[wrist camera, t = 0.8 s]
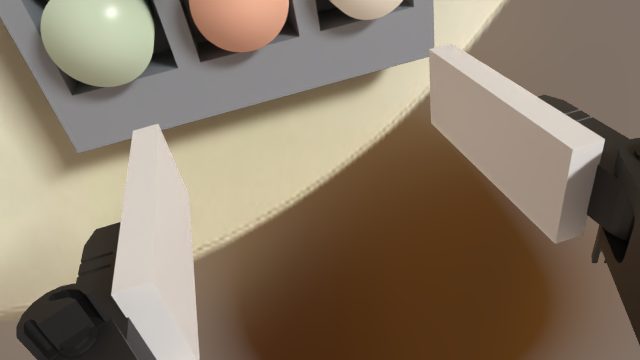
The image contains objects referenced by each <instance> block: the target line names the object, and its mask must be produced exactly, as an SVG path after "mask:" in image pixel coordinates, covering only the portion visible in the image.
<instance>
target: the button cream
mask: <svg viewBox="0 0 640 360" xmlns="http://www.w3.org/2000/svg"><path fill="white" fill-rule="evenodd" d="M329 1H330V2H332V3H333V4H334V5H335V6H336V7H338V8H339V9H340V10H341V11H342V12H344V13H345V14H347V15H348V16H350V17H353V18H356V19H360V20H372V19H377V18H380V17H383V16H385V15H387V14H388V13H390V12H391V11H393V10H394V9H395V8H396V7H397V6H398V5H399V4H400V3H401V2H402V1H403V0H329Z"/></svg>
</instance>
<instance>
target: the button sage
mask: <svg viewBox="0 0 640 360" xmlns="http://www.w3.org/2000/svg"><path fill="white" fill-rule="evenodd" d="M154 36H155V16H154V12H153V9H152V6H151V4H150V2H149V0H50V1H49V2H48V4H47V5H46V7H45V9H44V11H43V14H42V17H41V37H42V41H43V44H44V46H45V49H46V51H47V53H48V54H49V56H50V57H51V59H52V60H53V61H54V63H55V64H56V65H57V66H58V67H59V68H60V69H61V70H62V71H64V72H65V73H66V74H68V75H69V76H71V77H72V78H74V79H76V80H78V81H80V82H83V83H85V84H89V85H92V86H98V87H115V86H120V85H123V84H126V83H129V82H131V81H133V80H134V79H136V78H137V77H138V76H139V75H141V74H142V73H143V71H144V70H145V69H146V68H147V66H148V64H149V63H150V60H151V58H152V54H153V47H154Z"/></svg>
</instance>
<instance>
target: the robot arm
mask: <svg viewBox="0 0 640 360" xmlns="http://www.w3.org/2000/svg"><path fill="white" fill-rule="evenodd" d="M429 62H430V97H431V123H432V124H433V125H434V126H435V127H436V128H437V129H438V130H439V131H440V132H441V133H442V134H443V135H444V136H445V137H446V138H447V139H448V140H449V141H450V142H451V143H452V144H453V145H454V146H455V147H456V148H457V149H459V151H461V152H462V154H464V155H465V156H466V157H467V158H468V159H469V160H470V161H471V162H472V163H473V164H474V165H475V166H476V167H477V168H478V169H479V170H480V171H481V172H482V173H483V174H484V175H485V176H486V177H487V178H488V179H489V180H490V181H491V182H492V183H493V184H494V185H495V186H496V187H497V188H498V189H499V190H501V191H502V192H503V193H504V194H505V195H506V196H507V197H508V198H509V199H510V200H511V201H512V202H513V203H514V204H515V205H516V206H517V207H518V208H519V209H520V210H521V211H522V212H523V213H524V214H525V215H526V216H528V218H529V219H530V220H531V221H533V222H534V223H535V225H537V226H538V227H539V228H540V229H541V230H542V231H543V232H544V233H545V234H546V235H547V236H548V237H549V238H550V239H551V240H552V241H553V242H554V243H559V242H562V241H565V240H568V239H571V238H574V237H577V236H580V235H583V233H584V228H585V225H586V220H587V216H590V217H591V218H592V219H593V220H594V221H596V222H597V223H598V224H599V229H598V233H597V236H596V241H595V244H594V248H593V252H592V263H597V262H598V258H599V254H600V252H601V251H602V252H603V254H604V257H605V261H604V263H607V265H608V267H609V270H610V272H611V275H612V277H613V280H614V282H615V285H616V287H617V290H618V292H619V295H620V297H621V300H622V302H623V305H624V307H625V310H626V312H627V315H628V317H629V319H630V322H631V325H632V327H633V330H634V332H635V335H636V337H637V339H638V342H639V344H640V138H635V139H631V140H630V139H629V138H627V137H625V136H623V135H621V134H620V133H618V132H617V131H615V130H613V129H612V128H610V127H608V126H606V125H605V124H603V123H601V122H599V121H598V120H596V119H595V118H590V116H589V115H588V114H586V113H584V112H583V111H578V108H576V107H574V106H572V105H571V104H569V103H567V102H566V101H564V100H561V99H557V98H554V97H550V96H547V95H542V96H539V97H536V96H535V95H533V94H531V93H530V92H528V91H527V90H525V89H524V88H522V87H520V86H519V85H517V84H516V83H514V82H512V81H511V80H509V79H507V78H506V77H504V76H503V75H501V74H499V73H498V72H496V71H494V70H493V69H491V68H490V67H488V66H487V65H485V64H483V63H482V62H480V61H479V60H476V59H475V58H474V57H472V56H471V55H469V54H467V53H466V52H464V51H463V50H461V49H459V48H458V47H456V46H454V45H453V44H451V43H450V44H446V45H443V46H439V47H436V48H432V49H429ZM81 263H82V264H80V268H79V272H78V275H79V277H77V281H76V284H70V285H65V286H61V287H58V288H56V289H54V290H52V291H50V292H48V293H46V294H45V295H43V296H42V297H40V298H39V299H38V300H36V301H35V302H34V303H32V305H31V306H30V307H29V308H28V309H27V310H26V311H25V312H24V314H23V315H22V317H21V319H20V321H19V323H18V325H17V338H18V339H19V341H20V342H21V343H22V344H23V345H24V346H25V347H26V348H27V349H28V350H29V351H30V352H31V353H32V355H34V357H35V358H36V359H37V360H199V344H198V329H197V313H196V298H195V283H194V267H193V251H192V235H191V220H190V204H189V194H188V191H187V189H186V187H185V184H184V182H183V180H182V177H181V175H180V173H179V171H178V168H177V166H176V164H175V161H174V159H173V157H172V154H171V152H170V150H169V147H168V145H167V143H166V140H165V138H164V136H163V133H162V131H161V129H160V126H159V124H155V125H152V126H148V127H145V128H141V129H137V130H134V131H133V134H132V141H131V149H130V156H129V164H128V171H127V179H126V186H125V194H124V202H123V209H122V217H121V222H119V223H116V224H113V225H109V226H106V227H102V228H99V229H96V230H95V231H94V233H93V234H92V236H91V237H90V238H89V240H88V241H87V243H86V244H85V245H84V250H83V254H82V259H81Z"/></svg>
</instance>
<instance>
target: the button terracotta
mask: <svg viewBox="0 0 640 360" xmlns="http://www.w3.org/2000/svg"><path fill="white" fill-rule="evenodd" d="M189 5H190V11H191V15H192V17H193V20H194V22H195V24H196V26H197V28H198V29H199V31H200V32H201V33H202V34H203V36H204V37H205V38H206V39H207V40H209V41H210V42H211V43H213V44H214V45H216V46H218V47H220V48H222V49H224V50H227V51H232V52H250V51H254V50H257V49H260V48H262V47H264V46H265V45H267V44H268V43H270V42H271V41H272V40H273V39H274V38H275V37H276V36H277V35H278V34H279V32H280V31H281V29H282V27H283V26H284V24H285V21H286V18H287V14H288V8H289V0H189Z"/></svg>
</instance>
